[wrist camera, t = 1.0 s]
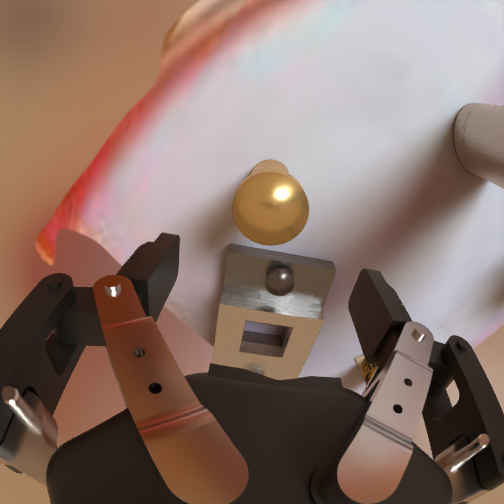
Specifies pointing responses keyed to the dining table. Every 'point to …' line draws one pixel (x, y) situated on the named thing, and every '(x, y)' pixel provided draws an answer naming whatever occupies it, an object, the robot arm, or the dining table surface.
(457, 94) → the dining table surface
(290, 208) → the brass pin
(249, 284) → the slotted plate with knobs
